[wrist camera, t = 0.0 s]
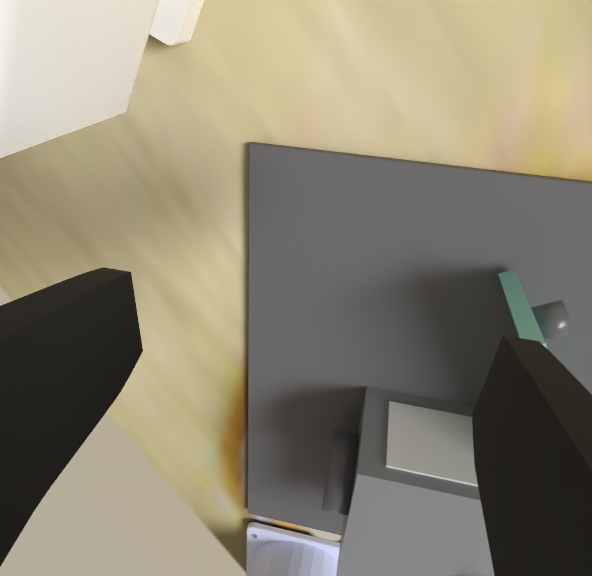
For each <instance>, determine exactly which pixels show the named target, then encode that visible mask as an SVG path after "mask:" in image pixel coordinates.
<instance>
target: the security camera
mask: <svg viewBox="0 0 592 576" xmlns="http://www.w3.org/2000/svg"><path fill="white" fill-rule="evenodd" d="M203 2H204V0H0V158H3V157H6V156H8V155H11V154H14V153H16V152H19V151H22V150H25V149H27V148H30V147H33V146H36V145H38V144H41V143H44V142H47V141H49V140H52V139H55V138H57V137H60V136H63V135H66V134H68V133H71V132H74V131H77V130H79V129H82V128H85V127H88V126H90V125H93V124H96V123H98V122H101V121H104V120H107V119H109V118H112V117H115V116H118V115H120V114H123V113H124V112H126V111H127V108H128V105H129V101H130V98H131V95H132V91H133V88H134V84H135V81H136V77H137V74H138V71H139V67H140V64H141V60H142V57H143V53H144V50H145V46H146V43H147V40H148V36H149V34H150V35H152V36H153V37H155V38H157V39H158V40H160V41H161V42H163V43H165V44H166V45H176V44H183V43H187V42H189V41H190V40H191V37H192V35H193V32H194V29H195V26H196V23H197V20H198V17H199V14H200V11H201V8H202V5H203Z"/></svg>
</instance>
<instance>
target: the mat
mask: <svg viewBox="0 0 592 576" xmlns="http://www.w3.org/2000/svg"><path fill="white" fill-rule="evenodd" d="M512 269H515V271H516V273H517V275H518V278H519V280H520V283H521V285H522V287H523V290H524V292H525V295H526V297H527V299H528V302H529V304H530V307H535V306H539V305H543V304H547V303H551V302H555V301H559V300H562V301H563V303H564V305H565V307H566V309H567V312H568V314H569V317H570V320H571V323H572V327H573V331H574V334H572V335H568V336H563V337H559V338H554V339H550V340H545V343H546V346H547V349H548V350H549V351H550V352H551V353H552V354H553V355H554V356H555V357H556V358H557V359H558V360H559V361H560V362H561V363H562V364H563V365H564V366H565V367H566V368H567V369H568V370H569V371H570V372H571V374H572V375H573V376H574V377H575V378H576V379H577V380H578V381H579V382H580V383H581V384H582V385H583V386H584V387H585V388H586V389H587V390H588V391H589V392H590V393H591V394H592V182H590V181H581V180H572V179H564V178H555V177H547V176H538V175H529V174H521V173H512V172H504V171H495V170H487V169H478V168H469V167H461V166H452V165H444V164H435V163H426V162H418V161H409V160H401V159H392V158H383V157H375V156H366V155H358V154H349V153H340V152H332V151H323V150H315V149H306V148H298V147H289V146H280V145H272V144H263V143H255V142H251V143H250V144H249V367H248V513H250V514H254V515H258V516H262V517H267V518H271V519H275V520H279V521H284V522H288V523H292V524H296V525H300V526H305V527H309V528H313V529H317V530H321V531H326V532H330V533H334V534H338V535H341V533H342V525H343V517H344V515H343V514H338V513H334V512H330V511H325V510H321V509H322V502H323V496H324V489H325V483H326V477H327V471H328V465H329V459H330V453H331V447H332V441H333V436H334V430H339V431H344V432H349V433H354V434H358V429H359V424H360V419H361V414H362V409H363V403H364V398H365V393H366V388H367V387H373V388H378V389H383V390H389V391H394V392H399V393H404V394H410V395H415V396H420V397H426V398H431V399H436V400H442V401H447V402H452V403H457V404H463V405H468V406H473V407H475V406H476V404H477V401H478V398H479V396H480V393H481V391H482V388H483V385H484V383H485V380H486V378H487V375H488V373H489V370H490V367H491V365H492V362H493V360H494V357H495V355H496V352H497V349H498V347H499V344H500V342H501V339H502V337H503V335H505V336H511V337H517V338H519V337H518V334H517V331H516V328H515V325H514V321H513V318H512V315H511V312H510V309H509V306H508V303H507V300H506V296H505V293H504V290H503V287H502V284H501V281H500V278H499V275H498V273H502V272H505V271H509V270H512Z"/></svg>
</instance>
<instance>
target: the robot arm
mask: <svg viewBox="0 0 592 576" xmlns="http://www.w3.org/2000/svg"><path fill="white" fill-rule="evenodd" d="M142 351H143V349H142V342H141V336H140V329H139V323H138V316H137V309H136V303H135V296H134V290H133V283H132V276H131V272H127V271H121V270H115V269H109V268H100V269H96V270H93V271H90V272H87V273H84V274H81V275H78V276H76V277H73V278H70V279H68V280H65V281H62V282H60V283H57V284H55V285H52V286H50V287H47V288H45V289H42V290H39V291H37V292H34V293H32V294H29V295H27V296H24V297H22V298H19V299H17V300H14V301H12V302H9V303H7V304H4V305H2V306H0V566H1V564H2V563H3V561H4V559H5V558H6V556H7V554H8V552H9V551H10V550H11V548H12V546H13V545H14V543H15V541H16V540H17V538H18V536H19V535H20V533H21V532H22V530H23V528H24V526H25V525H26V523H27V522H28V520H29V518H30V517H31V515H32V513H33V512H34V510H35V509H36V507H37V506H38V504H39V503H40V501H41V500H42V498H43V497H44V496H45V494H46V493H47V491H48V490H49V488H50V487H51V485H52V484H53V483H54V481H55V480H56V479H57V477H58V476H59V475H60V473H61V472H62V471H63V469H64V468H65V467H66V465H67V464H68V463H69V461H70V460H71V459H72V457H73V456H74V455H75V453H76V452H77V451H78V449H79V448H80V447H81V445H82V444H83V442H84V441H85V440H86V438H87V437H88V436H89V434H90V433H91V432H92V430H93V429H94V428H95V426H96V425H97V424H98V422H99V421H100V420H101V418H102V417H103V415H104V414H105V413H106V411H107V410H108V409H109V407H110V406H111V405H112V403H113V402H114V400H115V399H116V398H117V396H118V395H119V393H120V392H121V390H122V388H123V387H124V385H125V383H126V381H127V380H128V378H129V376H130V374H131V373H132V371H133V369H134V367H135V365H136V363H137V361H138V359H139V357H140V355H141V353H142ZM472 426H473V448H474V464H475V471H476V477H477V483H478V489H479V494H480V500H481V505H482V511H483V516H484V522H485V527H486V532H487V538H488V543H489V548H490V554H491V559H492V564H493V570H494V575H495V576H592V394H591V393H590V392H589V391H588V390H587V389H586V388H585V387H584V386H583V385H582V384H581V383H580V382H579V381H578V380H577V379H576V378H575V377H574V376H573V375H572V374H571V372H570V371H569V370H568V369H567V368H566V367H565V366H564V365H563V364H562V363H561V362H560V361H559V360H558V359H557V358H556V357H555V356H554V355H553V354H552V353H551V352H550V351H549V350H548V349H547V348H546V347H545V346H544V345H543V344H542V343H540V342H539V341H535V340H529V339H523V338H517V337H511V336H505V335H503V337H502V339H501V342H500V344H499V347H498V349H497V352H496V355H495V357H494V360H493V362H492V365H491V367H490V370H489V373H488V375H487V378H486V380H485V383H484V385H483V388H482V391H481V393H480V396H479V398H478V401H477V404H476V406H475V409H474V411H473V414H472ZM339 549H340V543H339V542H335V541H331V540H327V539H322V538H318V537H314V536H310V535H306V534H302V533H297V532H293V531H289V530H285V529H281V528H277V527H272V526H268V525H264V524H260V523H256V522H251V523H249V524H248V527H247V576H336V573H337V565H338V557H339Z"/></svg>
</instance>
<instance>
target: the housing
mask: <svg viewBox="0 0 592 576" xmlns="http://www.w3.org/2000/svg"><path fill="white" fill-rule="evenodd" d="M474 409H475V407H473V406H468V405H463V404H457V403H452V402H447V401H442V400H436V399H431V398H426V397H420V396H415V395H410V394H404V393H399V392H394V391H389V390H383V389H378V388H373V387H367V388H366V393H365V398H364V403H363V409H362V414H361V419H360V424H359V429H358V434H354V433H349V432H344V431H339V430H334V436H333V441H332V447H331V453H330V459H329V465H328V471H327V477H326V483H325V489H324V496H323V502H322V509H321V510H325V511H330V512H334V513H338V514H343V515H344V517H343V525H342V533H341V541H340V549H339V557H338V565H337V573H336V576H495V575H494V570H493V564H492V559H491V554H490V548H489V543H488V538H487V532H486V527H485V522H484V516H483V511H482V505H481V500H480V494H479V489H478V483H477V477H476V471H475V464H474V448H473V426H472V414H473V411H474Z"/></svg>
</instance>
